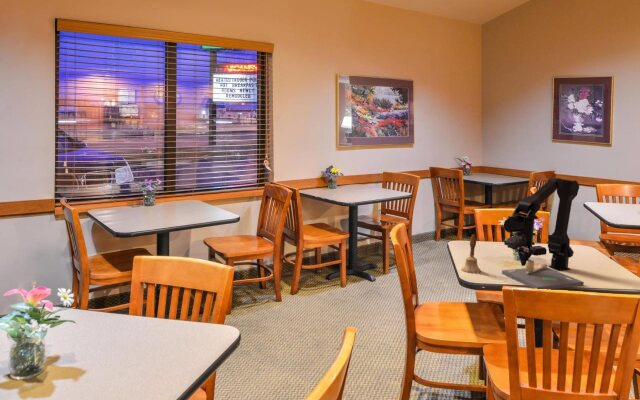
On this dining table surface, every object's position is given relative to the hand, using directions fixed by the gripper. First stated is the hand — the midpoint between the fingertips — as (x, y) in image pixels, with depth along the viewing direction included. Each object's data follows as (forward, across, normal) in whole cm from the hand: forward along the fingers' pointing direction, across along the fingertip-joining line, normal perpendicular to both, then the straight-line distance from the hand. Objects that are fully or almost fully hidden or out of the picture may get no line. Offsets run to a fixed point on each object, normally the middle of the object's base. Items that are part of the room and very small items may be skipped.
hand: (523, 265), depth 216 cm
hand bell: (+4, -13, -16) cm, 22 cm away
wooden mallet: (+2, +1, +6) cm, 6 cm away
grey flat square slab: (+4, +8, +3) cm, 9 cm away
